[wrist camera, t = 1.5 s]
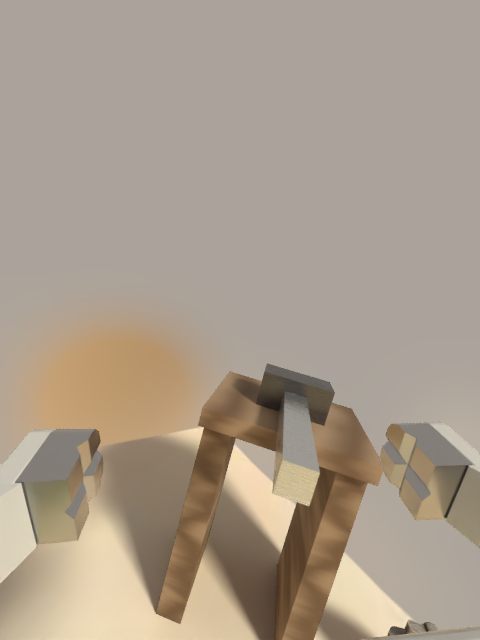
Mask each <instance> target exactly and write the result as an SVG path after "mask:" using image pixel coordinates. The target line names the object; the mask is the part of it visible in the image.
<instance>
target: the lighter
mask: <svg viewBox="0 0 480 640" xmlns="http://www.w3.org/2000/svg"><path fill="white" fill-rule="evenodd" d="M429 631H438V630H437V628H436V626H435V625H434V624H432V623H430V622H426V623H424V624H420V623H417V622H415V621H413V620H410V619H409V620H408V622H407V624H406V627H405V629H403V628H399V627H395V626H394V627H391V628H390V630H389V633H388V636H393V635H402V634H411V633H420V632H429Z"/></svg>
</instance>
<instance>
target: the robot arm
mask: <svg viewBox="0 0 480 640" xmlns="http://www.w3.org/2000/svg"><path fill="white" fill-rule="evenodd" d="M386 437H387V439H388V440H389V441H388V442H387V443H386V444H385V445H384V446H383V447H382V450H381V454H380V461H381V467H382V469H383V472H384V474H385V476H386V477H387V479H388V480H389V482H390V483H392V484H393V485H395V486H396V487H397V488H399V489H400V491H399V497H400V498H401V500H402V501H403V503H404V504H405V506H406V507H407V508H408V510H409V511H410V513H411V514H412V516H413V517H414V519H415V520H426V519H427V520H428V519H446V521H447V522H448V523H449V524H450V525H452V526H453V527H454V528H455V529H457V530H458V531H459V532H460V533H462V534H463V535H464V536H465V537H467V538H468V539H469V540H470V541H472V542H473V543H474V544H475V545H476V546H478V547H479V548H480V454H479V453H478V452H477V451H476V450H475V449H474V448H473V447H472V446H470V445H469V444H468V443H467V442H466V441H465V440H464V439H462V438H461V437H460V436H459V435H458V434H457V433H456V432H454V431H453V430H452V429H451V428H450V427H449V426H448V425H446V424H444V423H442V422H425V423H403V424H391V425H390V426H389V427H388V429H387V432H386ZM99 444H100V436H99V431H97V430H96V429H56V430H54V429H47V430H46V429H37V430H36V429H35V430H33V431H31V432H29V433H28V434H27V435H26V437H25V438H24V439H23V440H22V442H21V443H20V444H19V445H18V446H17V448H16V449H15V450H14V451H13V452H12V454H11V455H10V456H9V457H8V458H7V460H6V461H5V462H4V463H3V465H2V466H1V467H0V583H1V582H2V581H3V580H4V579H5V578H6V577H7V576H8V575H9V574H10V573H11V572H12V571H13V570H14V569H15V568H16V567H17V566H18V565H19V564H20V563H21V562H22V561H23V560H24V559H25V558H26V557H27V556H28V555H29V554H30V553H31V552H32V551H33V550H34V549H35V548H36V547H37V544H45V543H56V542H67V541H78V539H79V536H80V534H81V531H82V529H83V526H84V524H85V521H86V519H87V516H88V514H89V508H88V502H89V501H90V500H91V499H92V498H93V497H94V496H95V495H96V494H97V491H98V488H99V486H100V482H101V477H102V473H103V458H102V455H101V454H100V453H99V452H98V451H97V448H98V446H99ZM357 640H480V626H475V627H466V628H457V629H448V630H439V631H429V632H420V633H411V634H402V635H393V636H384V637H375V638H366V639H357Z"/></svg>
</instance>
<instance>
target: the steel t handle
mask: <svg viewBox="0 0 480 640" xmlns="http://www.w3.org/2000/svg"><path fill="white" fill-rule="evenodd" d="M334 393H335V392H334V390H333V388H332V386H331V384H330V382H327V381H324V380H320V379H317V378H314V377H310V376H307V375H304V374H300V373H297V372H294V371H290V370H286V369H283V368H280V367H277V366H274V365H270V364H267V366H266V369H265V372H264V376H263V380H262V383H261V387H260V390H259V394H258V397H257V401H256V404H257V405H260V406H263V407H266V408H269V409H272V410H276V411H279V414H278V428H277V441H276V455H275V468H274V480H273V494H275V495H278V496H281V497H284V498H287V499H289V500H292V501H295V502H298V503H300V504H303V505H306V506H310V502H311V499H312V496H313V493H314V490H315V487H316V484H317V481H318V477H319V474H320V470H319V464H318V459H317V453H316V448H315V443H314V437H313V432H312V426H311V422H313V423H316V424H320V425H323V426H324V425H325V422H326V419H327V416H328V413H329V409H330V406H331V403H332V400H333V397H334Z"/></svg>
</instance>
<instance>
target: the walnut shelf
mask: <svg viewBox="0 0 480 640" xmlns="http://www.w3.org/2000/svg"><path fill="white" fill-rule="evenodd" d="M261 383H262V381H259V380H256V379H252V378H249V377H246V376H242V375H240V374H236V373H233V372H229V373H228V374H227V376H226V377H225V378H224V380H223V381H222V382H221V384H220V385H219V386H218V388H217V389H216V391H215V392H214V393H213V394H212V396H211V397H210V399H209V400H208V401H207V402H206V404H205V405H204V406H203V408H202V412H201V416H200V420H199V424H198V425H199V426H202V427H204V430H203V434H202V438H201V442H200V445H199V449H198V453H197V457H196V461H195V465H194V469H193V472H192V476H191V480H190V484H189V488H188V492H187V496H186V499H185V503H184V507H183V511H182V515H181V519H180V523H179V526H178V530H177V534H176V538H175V542H174V546H173V550H172V553H171V557H170V561H169V565H168V569H167V573H166V577H165V580H164V584H163V588H162V592H161V596H160V600H159V604H158V607H157V611H156V614H158V615H161V616H163V617H165V618H167V619H170V620H172V621H174V622H177V623H179V624H180V623H181V620H182V617H183V614H184V610H185V607H186V604H187V601H188V598H189V595H190V592H191V589H192V586H193V583H194V580H195V577H196V574H197V571H198V568H199V565H200V562H201V558H202V555H203V552H204V549H205V546H206V543H207V540H208V537H209V533H210V530H211V526H212V522H213V519H214V515H215V511H216V508H217V504H218V501H219V497H220V493H221V490H222V486H223V482H224V479H225V475H226V471H227V468H228V464H229V461H230V457H231V453H232V450H233V446H234V442H235V439H236V438H237V439H240V440H243V441H246V442H249V443H252V444H255V445H258V446H261V447H264V448H267V449H270V450H273V451H276V441H277V428H278V414H279V411H276V410H272V409H269V408H266V407H263V406H260V405H257V404H256V401H257V397H258V394H259V390H260V387H261ZM311 426H312V432H313V437H314V443H315V448H316V453H317V459H318V464H319V470H320V474H319V477H318V481H317V484H316V487H315V490H314V493H313V496H312V499H311V502H310V506H306V505H303V504H300V503H298V502H297V504H296V507H295V510H294V514H293V517H292V520H291V523H290V526H289V530H288V533H287V536H286V539H285V542H284V546H283V549H282V552H281V555H280V558H279V562H278V565H277V591H276V618H275V640H314V637H315V634H316V631H317V628H318V625H319V623H320V620H321V617H322V614H323V611H324V608H325V605H326V602H327V599H328V596H329V593H330V591H331V588H332V585H333V582H334V579H335V576H336V573H337V570H338V567H339V564H340V561H341V559H342V556H343V553H344V549H345V547H346V544H347V541H348V538H349V535H350V532H351V529H352V527H353V524H354V521H355V518H356V515H357V512H358V509H359V506H360V503H361V500H362V497H363V495H364V491H365V489H366V486H367V483H370V484H373V485H376V486H378V484H379V481H380V478H381V475H382V472H383V469H382V467H381V461H380V458H379V456H378V455H377V453H376V451H375V449H374V448H373V446H372V444H371V442H370V440H369V439H368V437H367V435H366V433H365V432H364V430H363V428H362V426H361V424H360V423H359V421H358V419H357V417H356V416H355V414H354V412H353V410H352V409H350V408H347V407H344V406H341V405H337V404H334V403H331V406H330V409H329V413H328V416H327V419H326V422H325V425H324V426H323V425H320V424H316V423H313V422H311Z"/></svg>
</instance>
